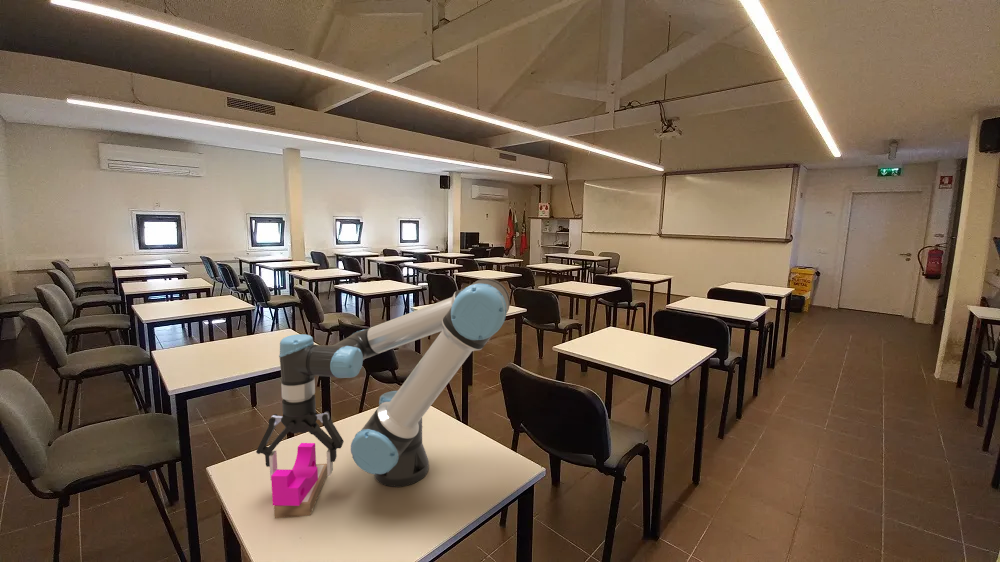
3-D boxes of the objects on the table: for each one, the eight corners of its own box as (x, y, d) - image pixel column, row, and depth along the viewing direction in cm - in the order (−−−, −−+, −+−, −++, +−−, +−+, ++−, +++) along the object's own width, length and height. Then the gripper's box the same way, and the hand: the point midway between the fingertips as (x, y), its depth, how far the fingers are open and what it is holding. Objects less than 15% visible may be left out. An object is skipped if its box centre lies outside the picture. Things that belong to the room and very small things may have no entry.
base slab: (327, 473, 115) (327, 463, 115) (310, 515, 99) (309, 503, 98) (297, 475, 114) (296, 465, 114) (274, 518, 97) (273, 506, 97)
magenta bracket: (299, 505, 97) (297, 476, 96) (272, 505, 97) (271, 476, 96) (325, 468, 112) (324, 443, 111) (302, 468, 112) (301, 442, 111)
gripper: (353, 388, 109) (355, 462, 111) (251, 392, 105) (256, 470, 107) (347, 400, 101) (350, 479, 104) (237, 405, 97) (243, 488, 100)
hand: (302, 475), depth 106 cm, fingers open, 13 cm apart
